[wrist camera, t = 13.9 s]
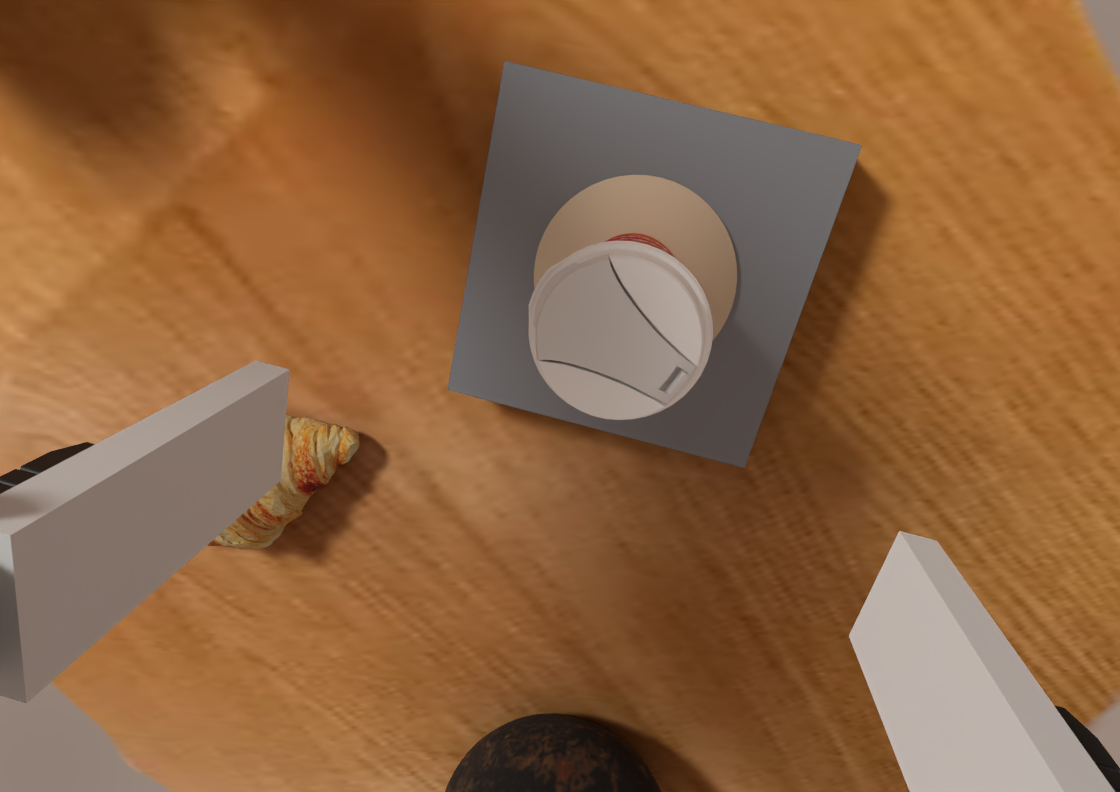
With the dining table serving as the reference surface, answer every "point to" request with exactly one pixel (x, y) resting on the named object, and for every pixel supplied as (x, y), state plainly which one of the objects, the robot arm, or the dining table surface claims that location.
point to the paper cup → (620, 328)
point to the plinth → (659, 212)
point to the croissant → (292, 481)
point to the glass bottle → (552, 759)
